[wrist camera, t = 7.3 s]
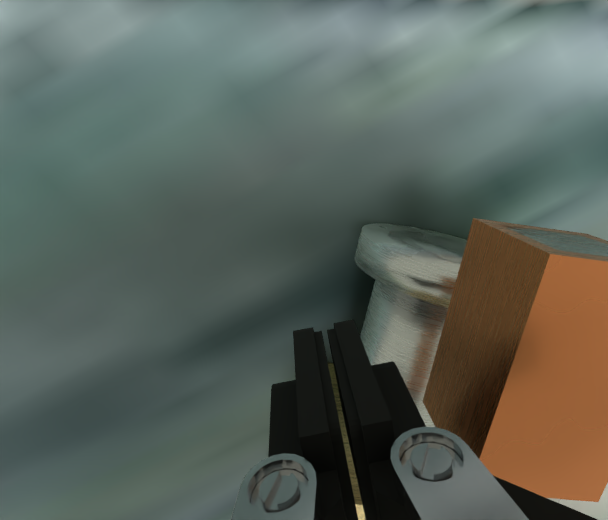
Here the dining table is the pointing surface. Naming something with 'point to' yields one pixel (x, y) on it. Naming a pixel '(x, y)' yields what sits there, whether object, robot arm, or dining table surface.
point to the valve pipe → (403, 308)
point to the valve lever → (528, 358)
